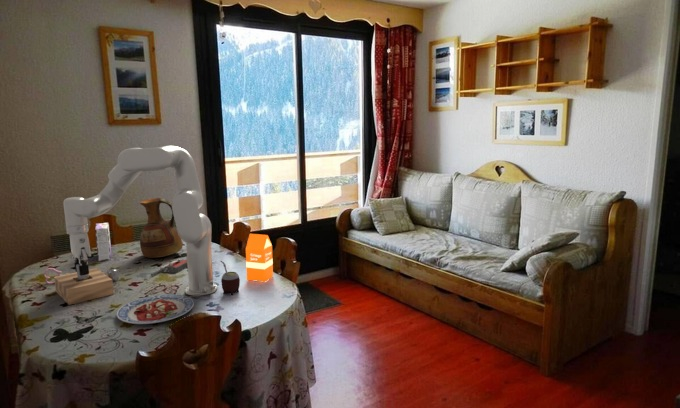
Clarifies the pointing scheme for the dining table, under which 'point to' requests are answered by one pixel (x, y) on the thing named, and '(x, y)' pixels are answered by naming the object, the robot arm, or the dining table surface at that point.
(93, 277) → the hole block
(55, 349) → the dining table surface
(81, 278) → the tall pin
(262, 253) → the orange juice
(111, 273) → the short pin
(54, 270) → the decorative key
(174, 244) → the ceramic pitcher
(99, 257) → the candy box
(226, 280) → the mate gourd
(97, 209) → the robot arm
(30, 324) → the dining table surface
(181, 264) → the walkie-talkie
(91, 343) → the dining table surface
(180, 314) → the ceramic plate
